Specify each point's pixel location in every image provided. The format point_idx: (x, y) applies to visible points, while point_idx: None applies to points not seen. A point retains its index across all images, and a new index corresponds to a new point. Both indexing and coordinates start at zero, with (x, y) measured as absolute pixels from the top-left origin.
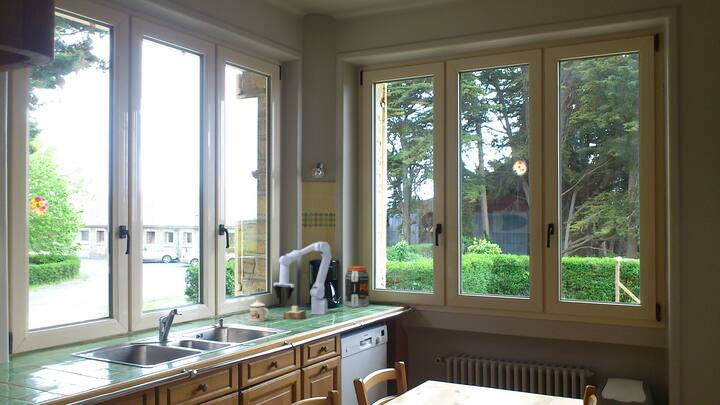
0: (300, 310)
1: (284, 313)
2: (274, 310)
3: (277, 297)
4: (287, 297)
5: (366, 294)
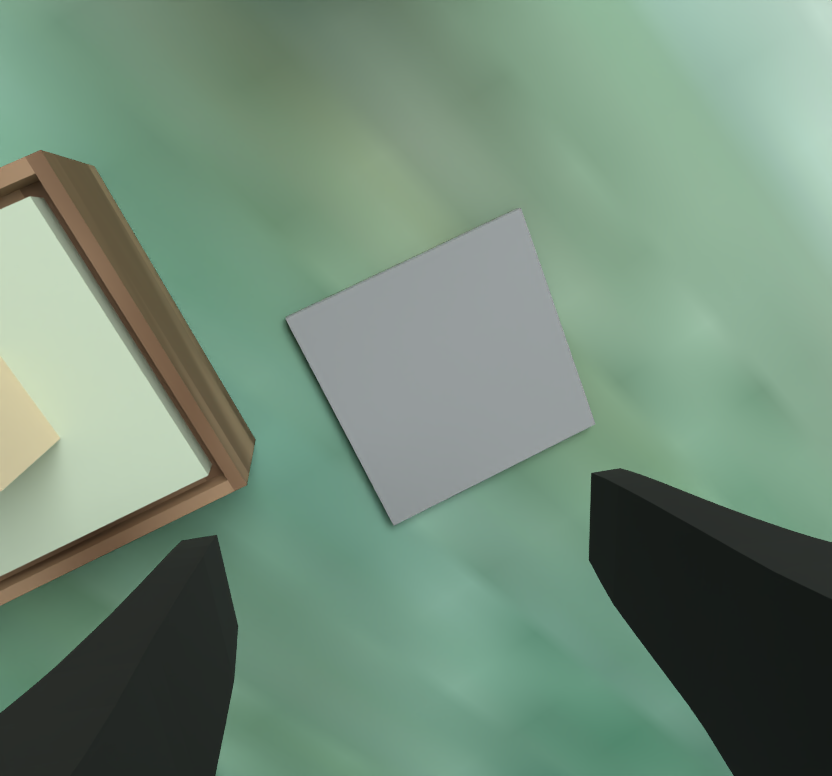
0: (32, 585)
1: (29, 158)
2: None
3: (615, 477)
4: (158, 568)
5: None
